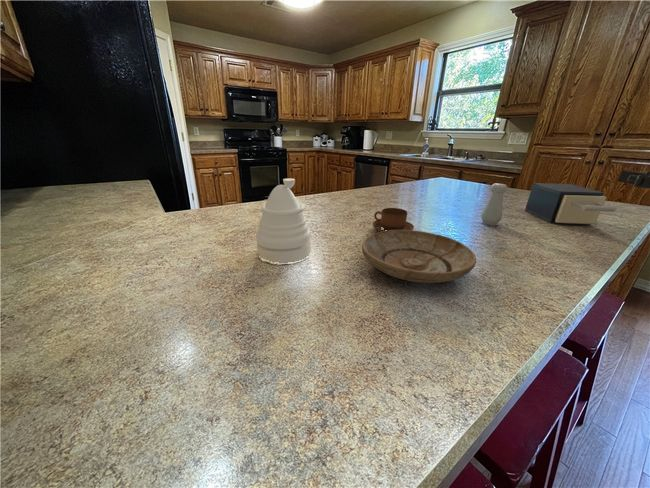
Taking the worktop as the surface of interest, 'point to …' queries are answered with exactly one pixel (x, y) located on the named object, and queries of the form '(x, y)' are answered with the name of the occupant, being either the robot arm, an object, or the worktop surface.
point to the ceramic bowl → (418, 256)
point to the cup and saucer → (392, 220)
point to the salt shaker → (494, 205)
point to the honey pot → (283, 227)
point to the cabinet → (552, 199)
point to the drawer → (581, 208)
